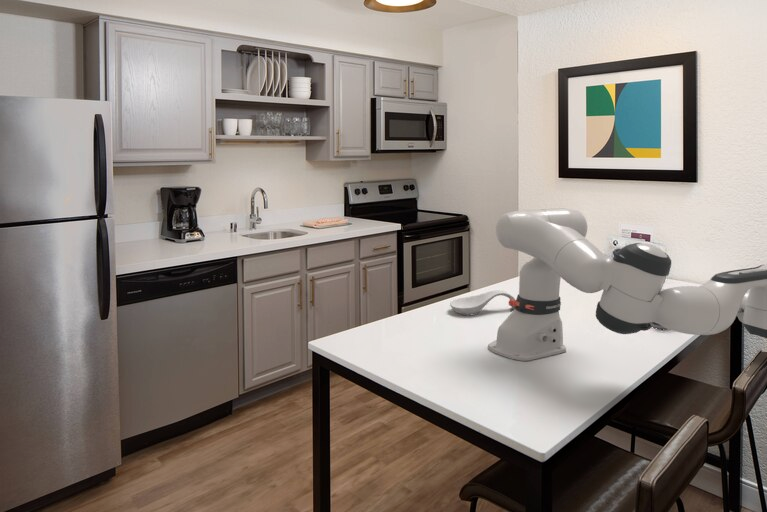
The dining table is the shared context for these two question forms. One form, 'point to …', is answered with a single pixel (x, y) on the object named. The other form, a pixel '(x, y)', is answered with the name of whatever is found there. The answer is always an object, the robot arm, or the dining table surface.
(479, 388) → the dining table surface
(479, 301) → the spoon rest
